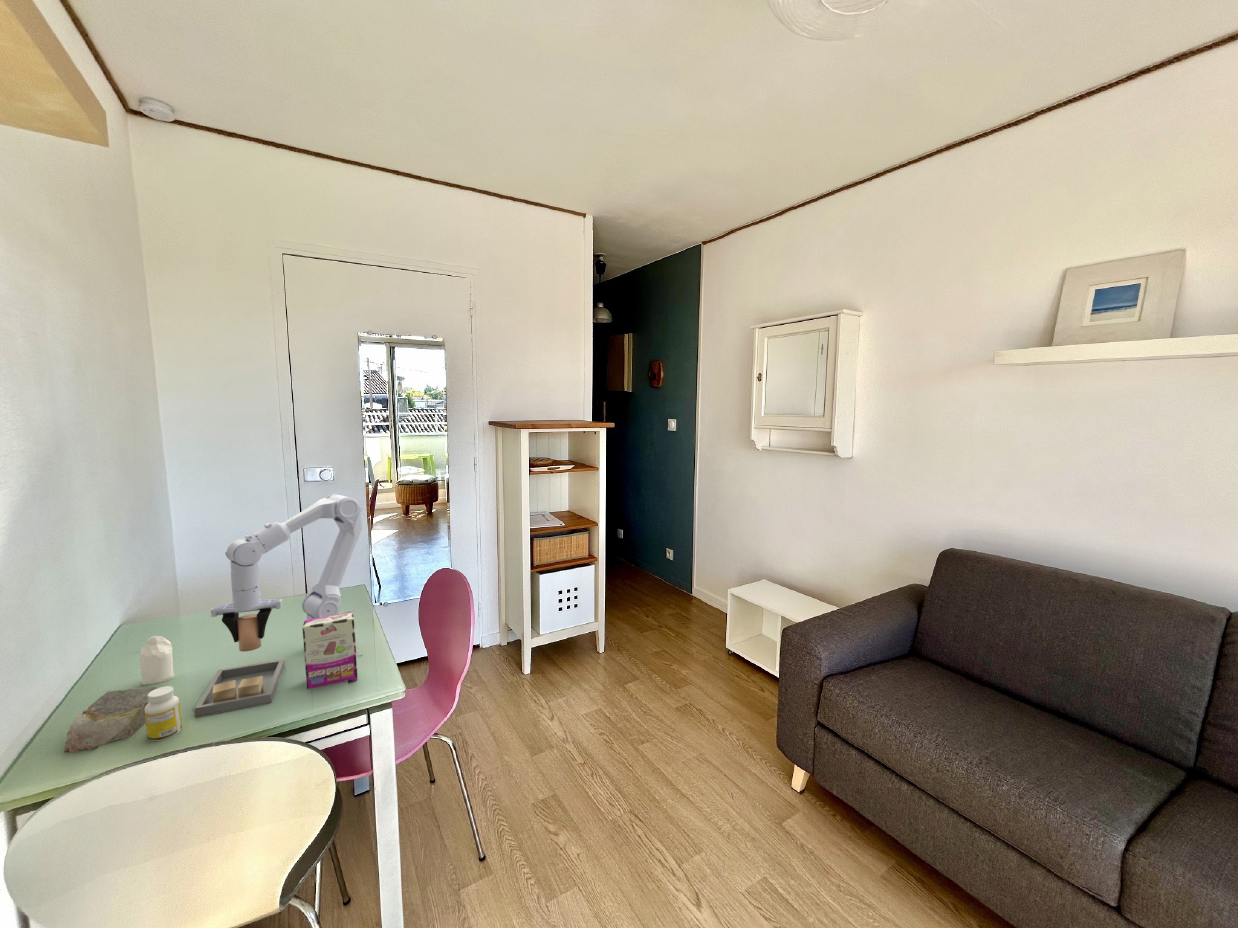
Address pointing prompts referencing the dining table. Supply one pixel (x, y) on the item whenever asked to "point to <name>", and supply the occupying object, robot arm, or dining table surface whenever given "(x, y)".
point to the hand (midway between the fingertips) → (249, 638)
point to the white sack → (156, 660)
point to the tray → (270, 682)
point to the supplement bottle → (162, 714)
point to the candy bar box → (330, 650)
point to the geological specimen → (108, 719)
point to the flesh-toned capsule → (248, 632)
